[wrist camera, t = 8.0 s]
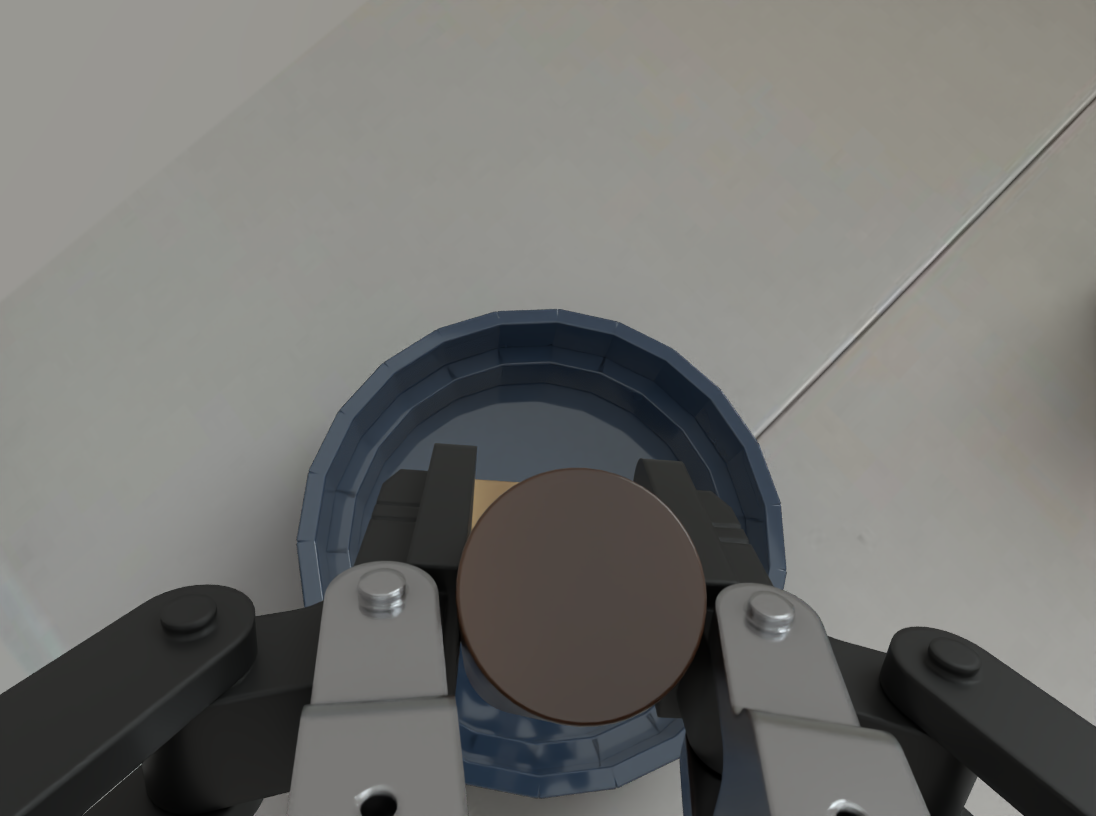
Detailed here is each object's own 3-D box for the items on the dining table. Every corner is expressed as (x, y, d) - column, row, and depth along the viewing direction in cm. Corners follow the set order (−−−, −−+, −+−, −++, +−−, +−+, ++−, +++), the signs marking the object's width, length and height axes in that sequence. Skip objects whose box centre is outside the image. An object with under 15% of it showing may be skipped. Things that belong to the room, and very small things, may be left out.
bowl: (287, 774, 28) (252, 789, 23) (356, 343, 35) (339, 288, 30) (753, 790, 29) (807, 807, 25) (728, 374, 36) (766, 327, 32)
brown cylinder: (457, 711, 16) (443, 721, 7) (467, 587, 18) (466, 458, 8) (578, 716, 17) (714, 732, 7) (581, 593, 18) (703, 475, 9)
